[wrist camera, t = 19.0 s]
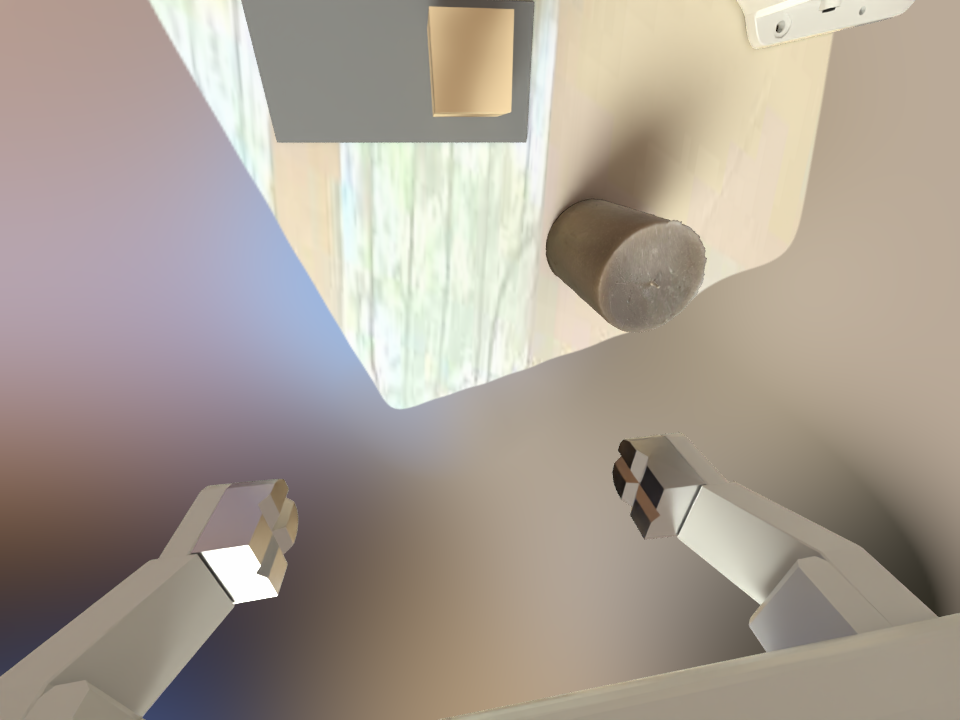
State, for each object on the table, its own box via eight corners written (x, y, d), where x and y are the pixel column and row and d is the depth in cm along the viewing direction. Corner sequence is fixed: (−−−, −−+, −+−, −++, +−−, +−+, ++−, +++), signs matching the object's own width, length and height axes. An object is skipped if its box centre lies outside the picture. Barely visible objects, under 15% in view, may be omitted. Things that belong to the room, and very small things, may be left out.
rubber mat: (533, 3, 30) (534, 1, 30) (525, 142, 35) (526, 142, 35) (239, -12, 27) (238, -13, 27) (278, 142, 32) (277, 142, 32)
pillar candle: (541, 284, 43) (594, 344, 31) (551, 196, 38) (619, 224, 26) (615, 282, 45) (695, 337, 32) (635, 197, 40) (739, 223, 27)
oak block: (428, 6, 25) (427, 29, 30) (435, 112, 28) (432, 117, 33) (514, 9, 25) (497, 31, 30) (511, 112, 28) (497, 116, 34)
